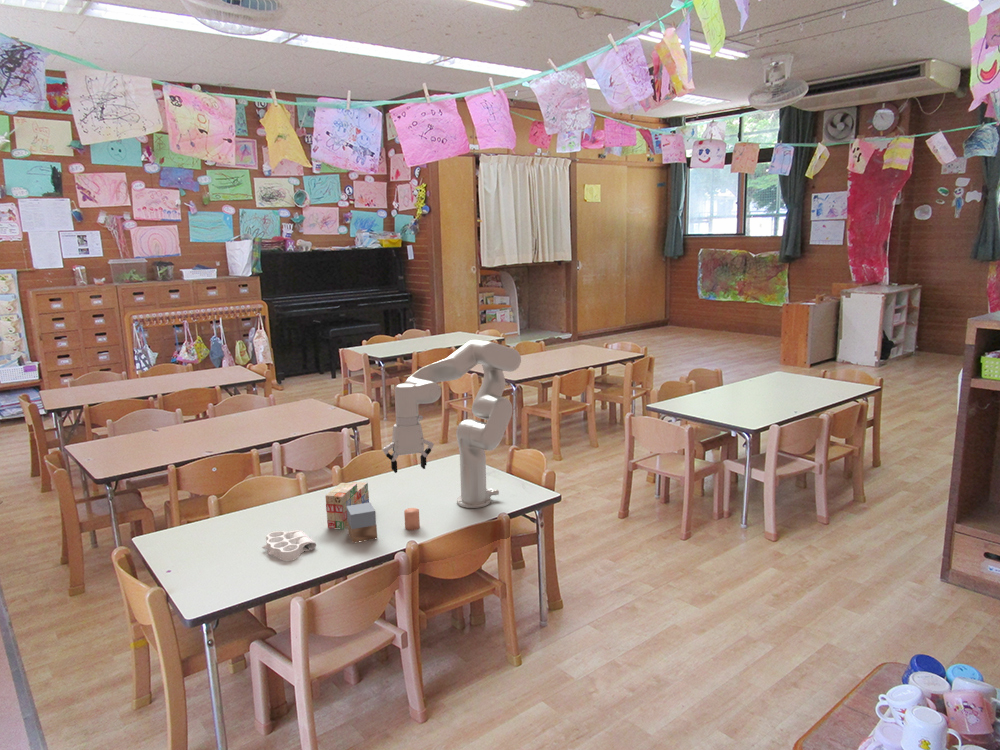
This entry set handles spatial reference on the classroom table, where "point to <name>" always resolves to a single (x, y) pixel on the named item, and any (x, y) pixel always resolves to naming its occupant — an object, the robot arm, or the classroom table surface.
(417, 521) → the terracotta cylinder
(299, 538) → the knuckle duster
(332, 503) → the stack of blocks
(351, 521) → the tower top
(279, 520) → the classroom table surface
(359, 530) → the tower base
